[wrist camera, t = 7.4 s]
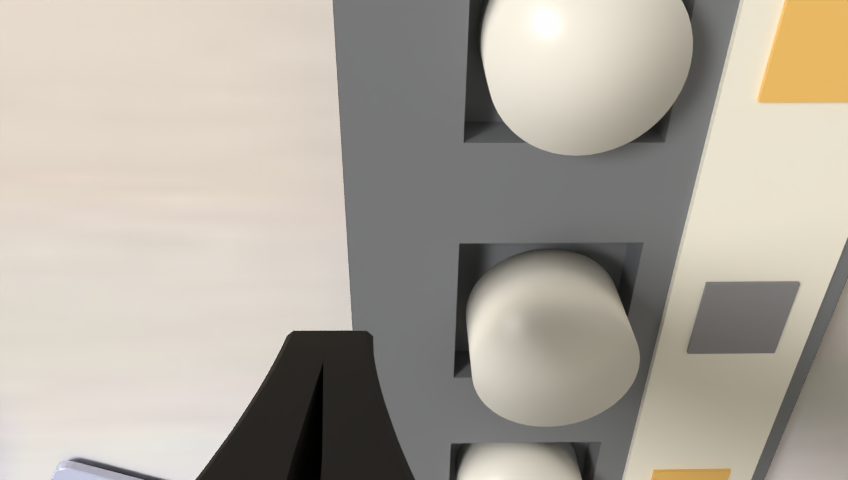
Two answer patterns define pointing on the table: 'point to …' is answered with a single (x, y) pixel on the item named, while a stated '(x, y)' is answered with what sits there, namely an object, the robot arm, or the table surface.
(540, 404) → the middle button
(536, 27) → the button
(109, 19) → the table surface
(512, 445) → the button
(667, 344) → the button board
